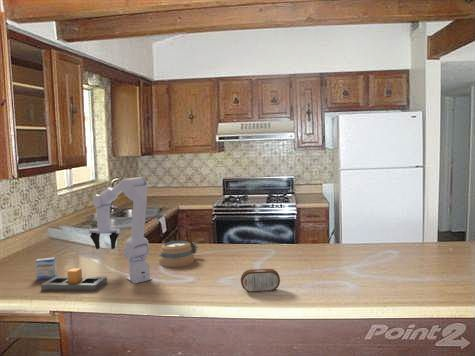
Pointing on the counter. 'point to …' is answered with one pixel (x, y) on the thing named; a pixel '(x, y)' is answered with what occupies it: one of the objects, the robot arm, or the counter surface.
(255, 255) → the counter surface
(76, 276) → the square block
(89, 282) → the gray board with holes
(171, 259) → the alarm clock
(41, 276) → the medicine box
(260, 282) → the brown portable speaker
